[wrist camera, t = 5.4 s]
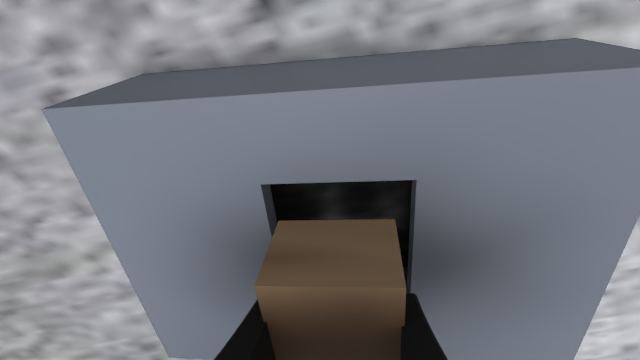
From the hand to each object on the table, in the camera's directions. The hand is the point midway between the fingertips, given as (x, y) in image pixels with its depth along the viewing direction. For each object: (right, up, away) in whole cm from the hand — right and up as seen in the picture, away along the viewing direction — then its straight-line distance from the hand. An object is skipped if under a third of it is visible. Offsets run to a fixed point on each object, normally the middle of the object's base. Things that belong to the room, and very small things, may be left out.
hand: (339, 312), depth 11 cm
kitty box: (+1, +4, +7) cm, 8 cm away
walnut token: (0, +1, +1) cm, 2 cm away
